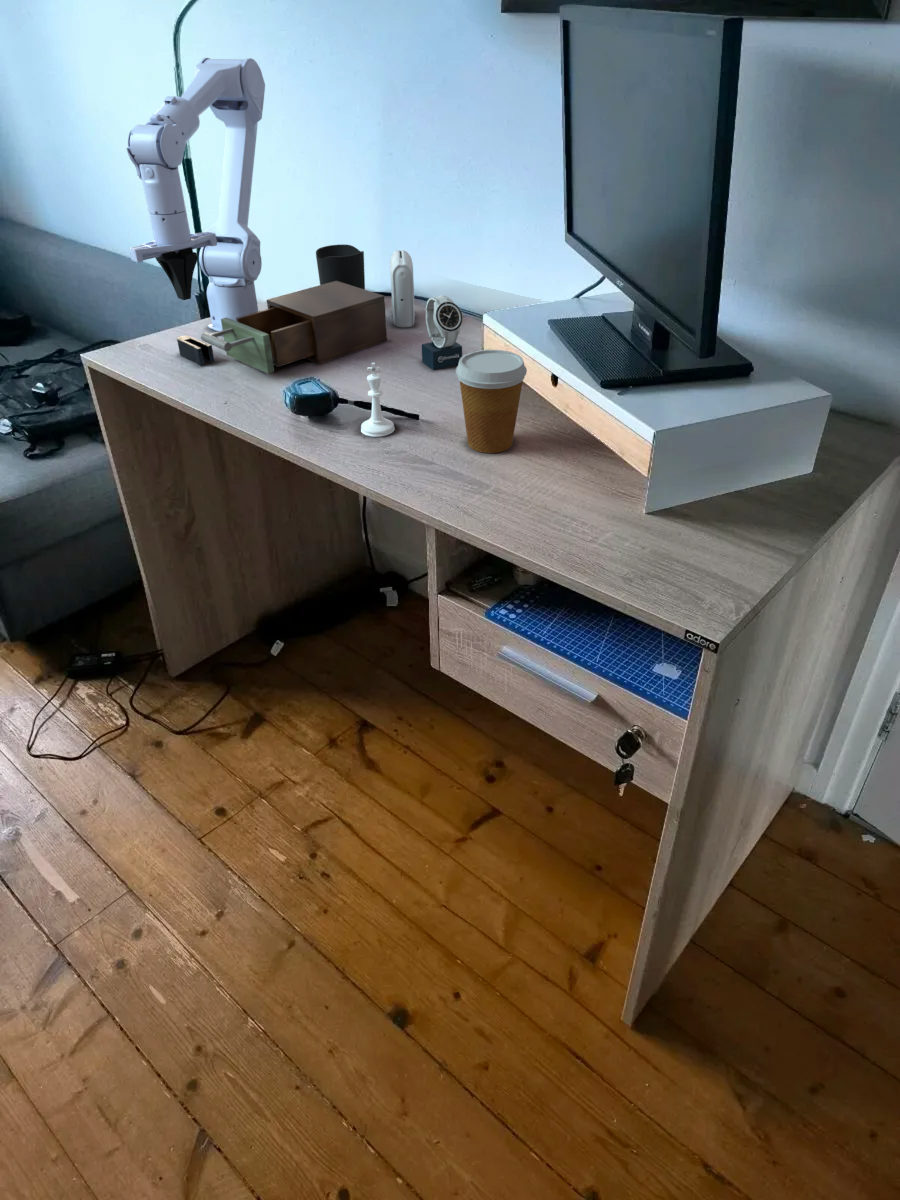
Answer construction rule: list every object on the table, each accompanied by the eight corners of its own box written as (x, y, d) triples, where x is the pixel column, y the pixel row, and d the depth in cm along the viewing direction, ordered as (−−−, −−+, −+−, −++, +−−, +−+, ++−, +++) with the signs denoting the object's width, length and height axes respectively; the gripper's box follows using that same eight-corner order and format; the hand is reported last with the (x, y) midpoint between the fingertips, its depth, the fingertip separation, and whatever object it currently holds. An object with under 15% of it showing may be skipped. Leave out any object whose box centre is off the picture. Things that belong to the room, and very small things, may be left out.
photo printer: (416, 327, 161) (413, 259, 153) (393, 328, 160) (389, 260, 153) (413, 310, 169) (411, 244, 162) (392, 311, 169) (388, 245, 161)
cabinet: (319, 364, 146) (313, 316, 141) (272, 345, 154) (266, 299, 149) (387, 341, 155) (384, 295, 150) (340, 324, 163) (336, 280, 158)
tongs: (176, 354, 151) (173, 338, 149) (190, 350, 152) (187, 334, 151) (200, 366, 146) (197, 349, 144) (214, 362, 148) (211, 344, 146)
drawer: (239, 383, 137) (232, 345, 134) (197, 364, 144) (190, 327, 141) (337, 351, 149) (334, 314, 145) (294, 334, 156) (290, 299, 152)
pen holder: (315, 308, 171) (309, 256, 165) (328, 294, 178) (323, 243, 172) (360, 310, 170) (356, 257, 164) (371, 295, 177) (368, 245, 171)
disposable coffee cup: (446, 452, 118) (445, 369, 111) (469, 425, 126) (469, 345, 118) (512, 463, 116) (514, 378, 108) (532, 434, 123) (535, 352, 116)
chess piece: (360, 423, 127) (355, 357, 121) (394, 421, 127) (390, 356, 121) (360, 437, 123) (355, 370, 117) (395, 436, 123) (391, 369, 117)
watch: (438, 374, 142) (437, 307, 135) (417, 358, 148) (415, 294, 141) (468, 367, 144) (468, 301, 137) (446, 352, 150) (445, 288, 143)
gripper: (194, 200, 141) (209, 284, 149) (112, 214, 133) (133, 303, 141) (217, 206, 137) (231, 292, 145) (134, 222, 129) (154, 312, 137)
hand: (184, 298), depth 143 cm, fingers closed
